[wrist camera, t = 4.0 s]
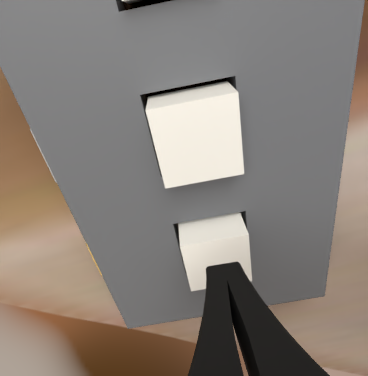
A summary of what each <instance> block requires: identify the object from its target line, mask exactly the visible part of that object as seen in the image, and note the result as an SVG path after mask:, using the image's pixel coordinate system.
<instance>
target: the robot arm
mask: <svg viewBox="0 0 368 376" xmlns="http://www.w3.org/2000/svg"><path fill="white" fill-rule="evenodd" d="M232 323H233V324H232ZM233 326H234V329H235V333H236V336H237V339H238V343H239V346H240V349H241V352H242V356H243V359H244V362H245V365H246V369H247V372H248V375H249V376H330V375H328V374H327V373H326V372H325V371H324V370H323V369H322V368H321V367H320V366H319V365H318V364H317V363H316V362H315V361H314V360H313V359H312V358H311V357H310V356H309V355H308V354H307V352H306V351H305V350H304V349H303V348H302V347H301V346H300V345H299V344H298V343H297V342H296V341H295V339H294V338H293V337H292V336H291V335H290V334H289V333H288V331H287V330H286V329H285V328H284V327H283V325H282V324H281V323H280V322H279V321H278V319H277V318H276V317H275V316H274V314H273V313H272V312H271V310H270V309H269V308H268V306H267V305H266V304H265V302H264V301H263V300H262V298H261V297H260V295H259V294H258V293H257V291H256V290H255V288H254V287H253V285H252V283H251V282H250V280H249V279H248V277H247V275H246V274H245V272H244V270H243V268H242V266H241V264H240V263H239V262H231V263H225V264H219V265H213V266H208V267H207V268H206V294H205V302H204V309H203V316H202V321H201V326H200V331H199V336H198V340H197V345H196V349H195V353H194V356H193V360H192V363H191V367H190V370H189V374H188V376H243V371H242V367H241V363H240V359H239V354H238V350H237V346H236V341H235V336H234V330H233Z"/></svg>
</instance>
